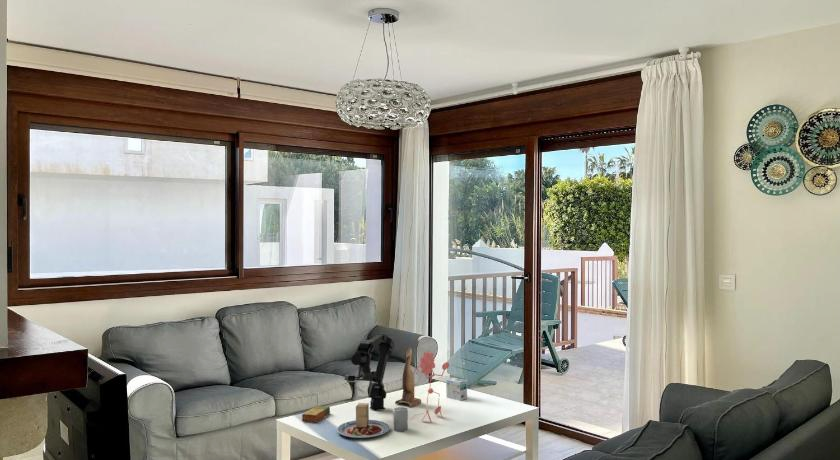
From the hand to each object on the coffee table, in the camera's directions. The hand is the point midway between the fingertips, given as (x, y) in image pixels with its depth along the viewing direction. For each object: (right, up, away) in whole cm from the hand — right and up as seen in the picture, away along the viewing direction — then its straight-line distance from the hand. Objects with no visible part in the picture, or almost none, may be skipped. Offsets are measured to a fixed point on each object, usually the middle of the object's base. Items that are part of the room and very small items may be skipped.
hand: (361, 395), depth 330 cm
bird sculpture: (+24, -12, +26) cm, 37 cm away
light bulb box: (+52, -11, +37) cm, 65 cm away
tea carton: (+2, -10, -18) cm, 21 cm away
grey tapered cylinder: (+21, -12, -17) cm, 30 cm away
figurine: (+34, -12, +1) cm, 36 cm away
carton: (-24, -13, +3) cm, 27 cm away
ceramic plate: (+3, -13, -20) cm, 24 cm away
